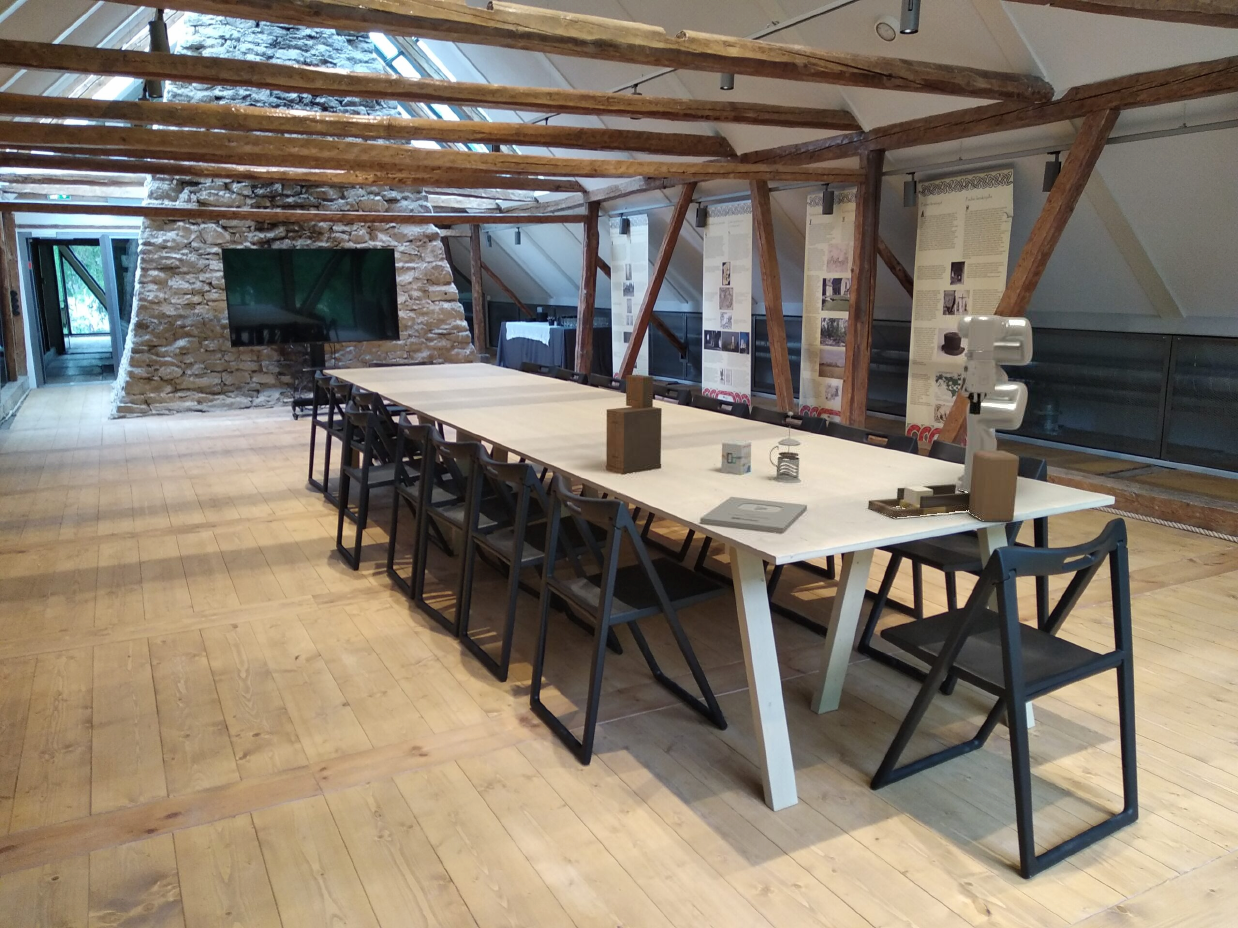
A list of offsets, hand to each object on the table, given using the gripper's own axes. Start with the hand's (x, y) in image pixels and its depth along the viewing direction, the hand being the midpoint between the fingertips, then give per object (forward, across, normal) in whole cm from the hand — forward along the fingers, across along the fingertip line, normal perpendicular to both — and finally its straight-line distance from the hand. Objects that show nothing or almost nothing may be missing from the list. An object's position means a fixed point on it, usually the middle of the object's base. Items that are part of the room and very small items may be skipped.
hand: (974, 414), depth 274 cm
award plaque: (+30, -74, +4) cm, 80 cm away
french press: (+29, -40, +48) cm, 69 cm away
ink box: (+29, -51, +66) cm, 88 cm away
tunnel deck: (+29, -18, -4) cm, 34 cm away
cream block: (+27, -22, -4) cm, 35 cm away
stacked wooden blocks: (+29, -86, +83) cm, 123 cm away
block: (+29, -6, -18) cm, 35 cm away
